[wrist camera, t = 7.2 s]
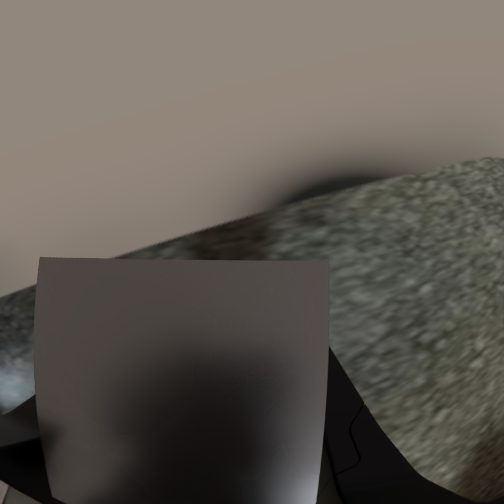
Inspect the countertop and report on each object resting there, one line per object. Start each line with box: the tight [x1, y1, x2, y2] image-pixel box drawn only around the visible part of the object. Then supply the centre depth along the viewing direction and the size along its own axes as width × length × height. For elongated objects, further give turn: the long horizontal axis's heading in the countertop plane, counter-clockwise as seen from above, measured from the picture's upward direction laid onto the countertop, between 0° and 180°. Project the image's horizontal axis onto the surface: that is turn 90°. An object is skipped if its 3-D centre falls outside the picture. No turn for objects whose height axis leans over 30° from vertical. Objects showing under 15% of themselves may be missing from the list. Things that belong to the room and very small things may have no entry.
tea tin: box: [34, 257, 329, 504], centre depth 10 cm, size 5×5×12 cm
